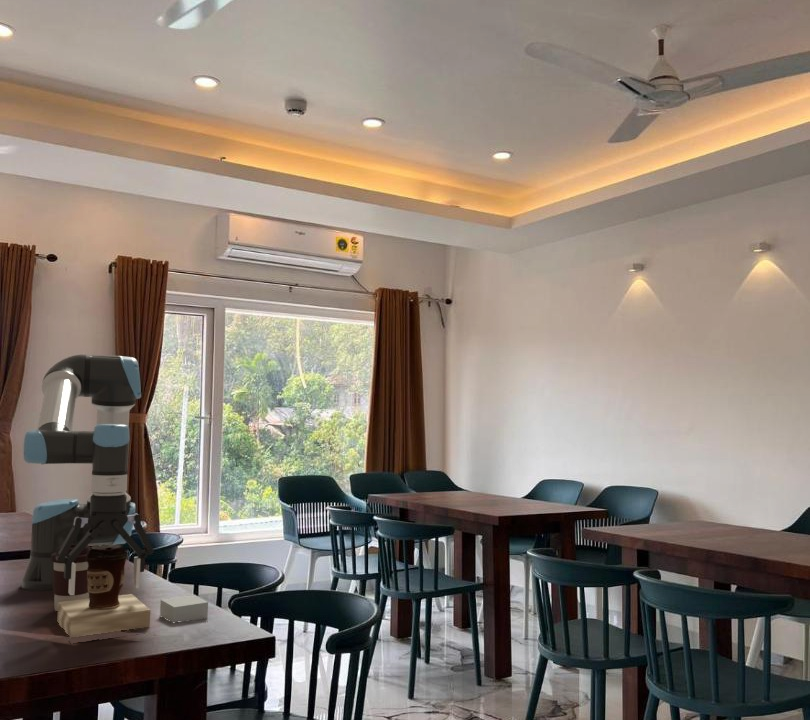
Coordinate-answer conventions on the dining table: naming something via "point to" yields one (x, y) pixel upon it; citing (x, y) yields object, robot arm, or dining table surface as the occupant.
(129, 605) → the beech block
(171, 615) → the grey block
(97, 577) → the coffee cup
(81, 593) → the coffee cup
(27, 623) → the dining table surface
